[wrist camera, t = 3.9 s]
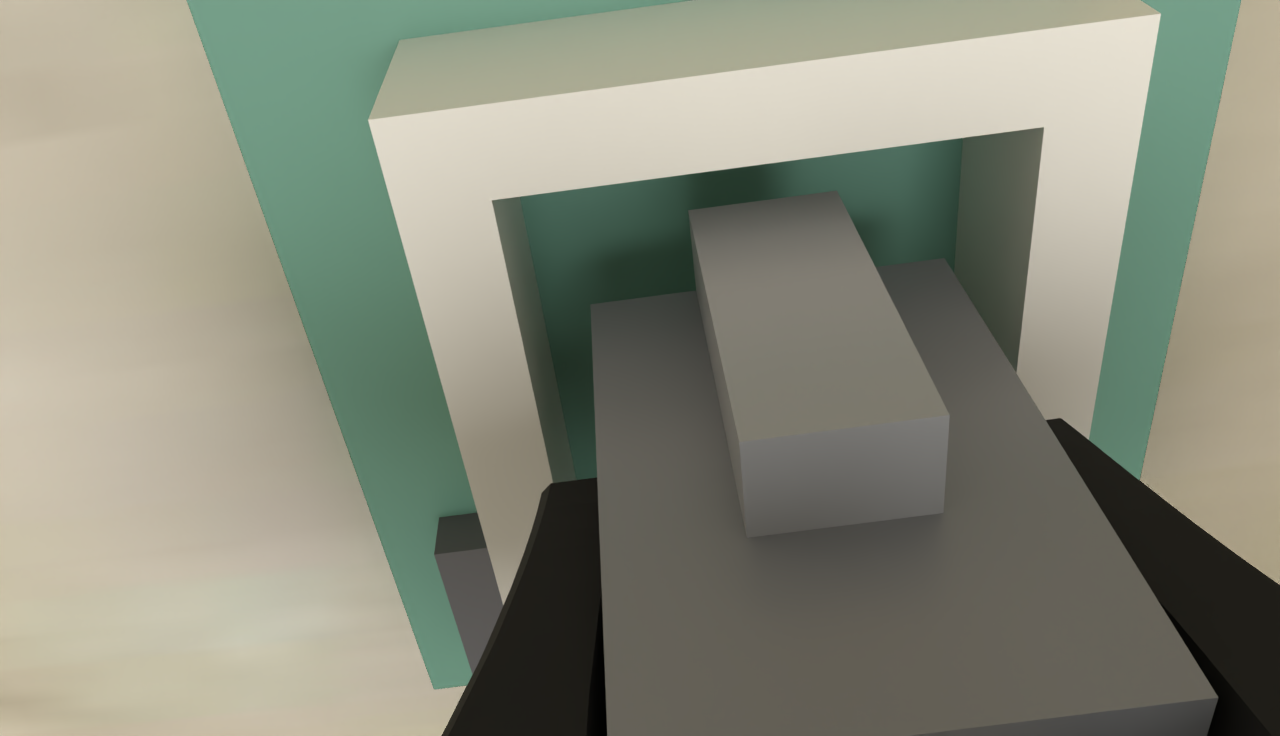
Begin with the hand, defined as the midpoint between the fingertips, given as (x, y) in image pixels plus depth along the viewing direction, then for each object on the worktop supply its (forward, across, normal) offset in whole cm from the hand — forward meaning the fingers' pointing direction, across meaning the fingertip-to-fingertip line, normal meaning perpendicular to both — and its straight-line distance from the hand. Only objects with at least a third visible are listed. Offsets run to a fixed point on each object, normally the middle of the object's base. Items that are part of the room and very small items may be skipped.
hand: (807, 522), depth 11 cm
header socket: (+4, 0, 0) cm, 4 cm away
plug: (+2, 0, 0) cm, 2 cm away
